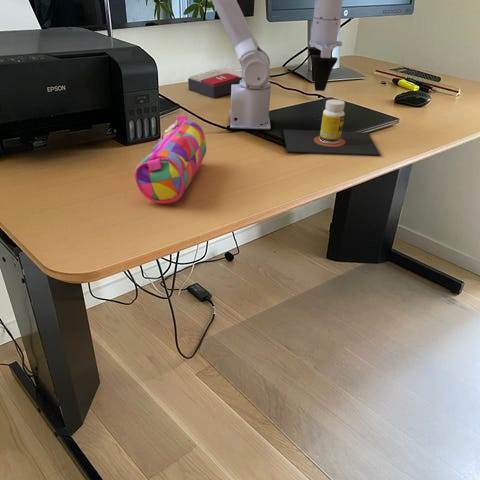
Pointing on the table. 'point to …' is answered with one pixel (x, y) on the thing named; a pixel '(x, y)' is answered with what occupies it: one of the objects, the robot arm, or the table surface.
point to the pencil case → (172, 162)
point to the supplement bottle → (332, 121)
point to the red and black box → (215, 82)
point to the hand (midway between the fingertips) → (318, 85)
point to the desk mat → (312, 145)
